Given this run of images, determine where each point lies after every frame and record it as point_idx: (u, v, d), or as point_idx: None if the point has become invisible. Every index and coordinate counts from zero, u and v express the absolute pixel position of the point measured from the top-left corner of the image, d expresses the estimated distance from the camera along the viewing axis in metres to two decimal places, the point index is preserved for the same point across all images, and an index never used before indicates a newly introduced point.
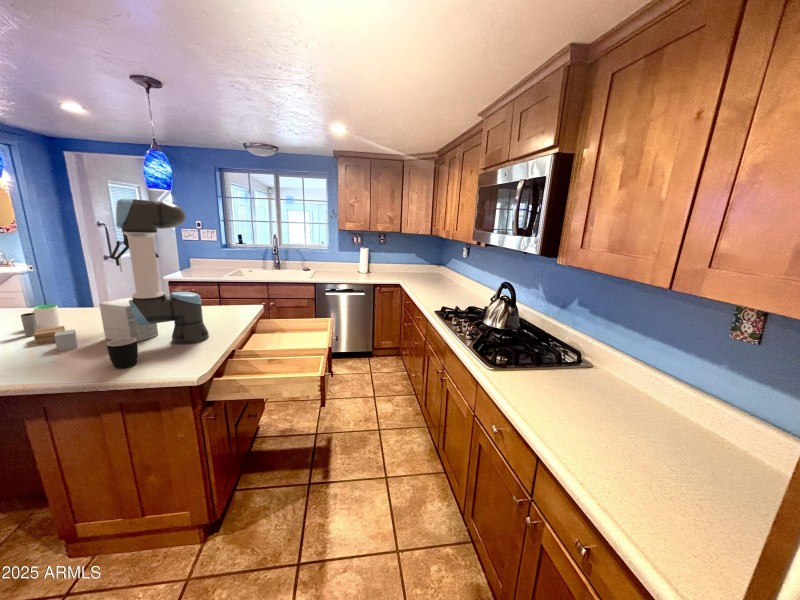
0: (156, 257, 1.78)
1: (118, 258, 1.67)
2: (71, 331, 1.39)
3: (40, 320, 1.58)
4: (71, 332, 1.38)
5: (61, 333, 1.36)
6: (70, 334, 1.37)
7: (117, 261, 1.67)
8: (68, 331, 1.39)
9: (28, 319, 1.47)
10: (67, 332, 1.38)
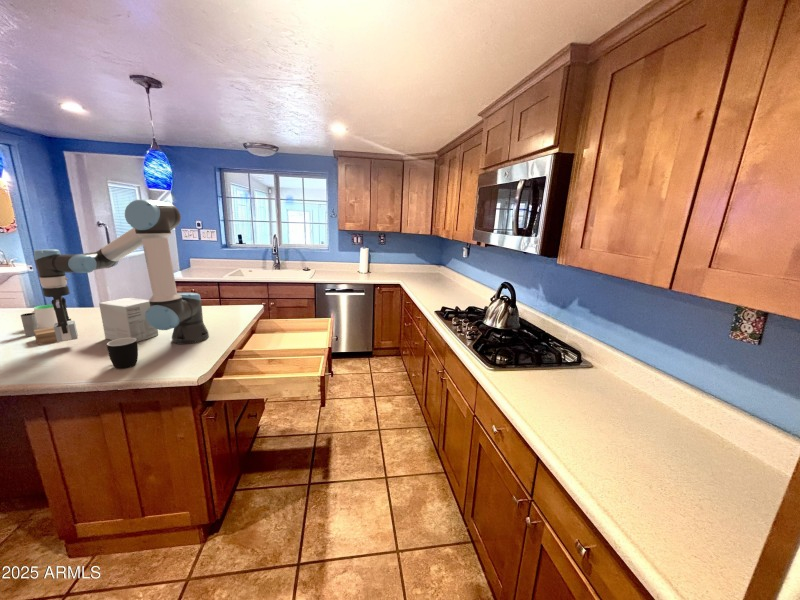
0: (60, 325, 1.32)
1: None
2: (70, 322, 1.38)
3: (40, 320, 1.58)
4: (70, 323, 1.37)
5: None
6: (69, 325, 1.36)
7: None
8: (67, 322, 1.38)
9: (28, 319, 1.47)
10: None
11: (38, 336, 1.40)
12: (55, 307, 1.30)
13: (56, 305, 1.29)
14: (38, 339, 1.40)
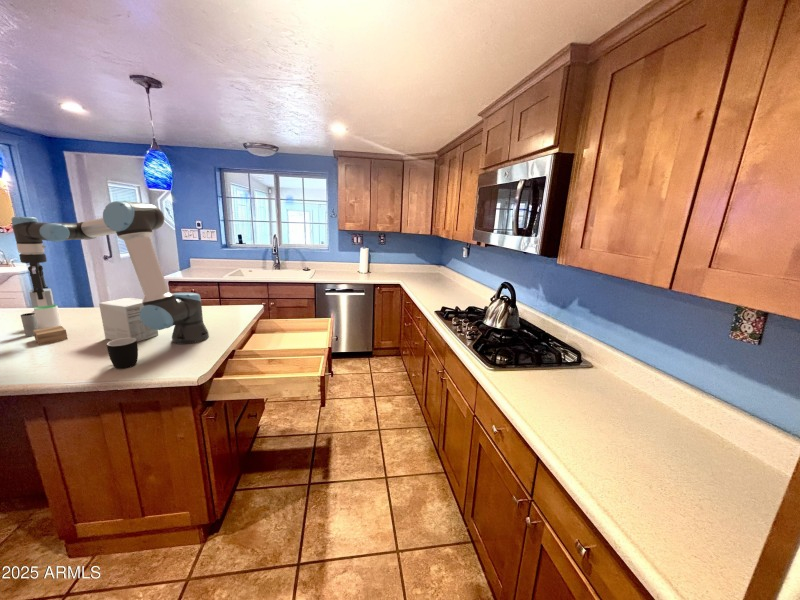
0: (36, 291, 1.36)
1: None
2: (46, 289, 1.42)
3: (40, 320, 1.58)
4: (46, 290, 1.41)
5: None
6: (45, 291, 1.40)
7: None
8: (44, 289, 1.42)
9: (28, 319, 1.47)
10: None
11: (39, 336, 1.40)
12: (31, 273, 1.34)
13: (32, 271, 1.34)
14: (39, 339, 1.40)
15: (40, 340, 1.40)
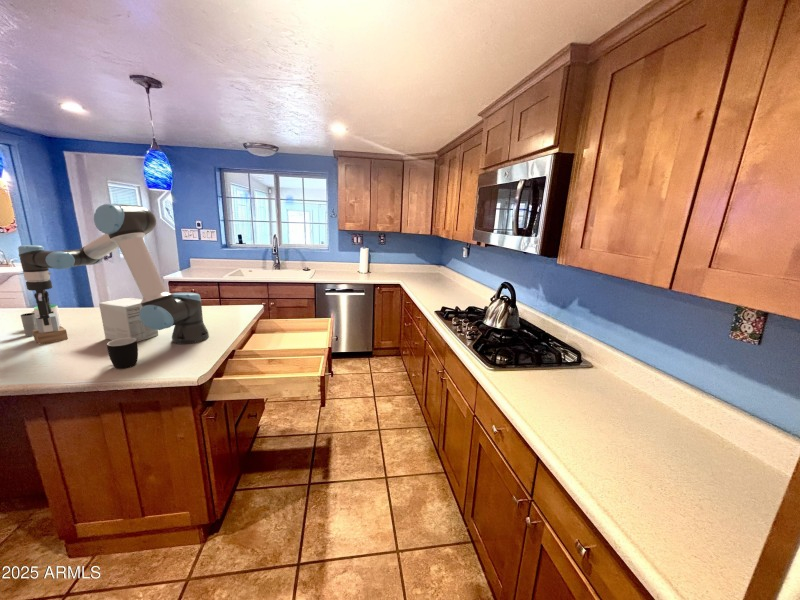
0: (42, 317, 1.39)
1: None
2: (52, 314, 1.45)
3: None
4: (52, 315, 1.44)
5: None
6: (51, 317, 1.43)
7: None
8: (49, 314, 1.45)
9: (28, 319, 1.47)
10: None
11: (39, 336, 1.40)
12: (37, 300, 1.37)
13: (38, 298, 1.37)
14: (39, 339, 1.40)
15: (40, 340, 1.41)
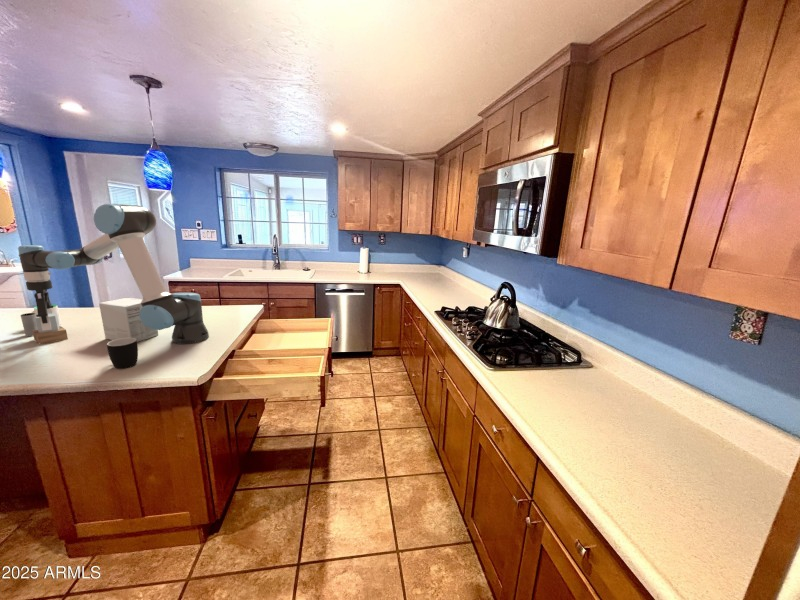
0: (40, 315, 1.36)
1: None
2: (52, 314, 1.45)
3: None
4: (52, 315, 1.44)
5: None
6: (51, 317, 1.43)
7: None
8: (49, 314, 1.45)
9: (28, 319, 1.47)
10: None
11: (39, 336, 1.40)
12: (36, 297, 1.36)
13: (37, 295, 1.36)
14: (39, 339, 1.40)
15: (40, 340, 1.41)
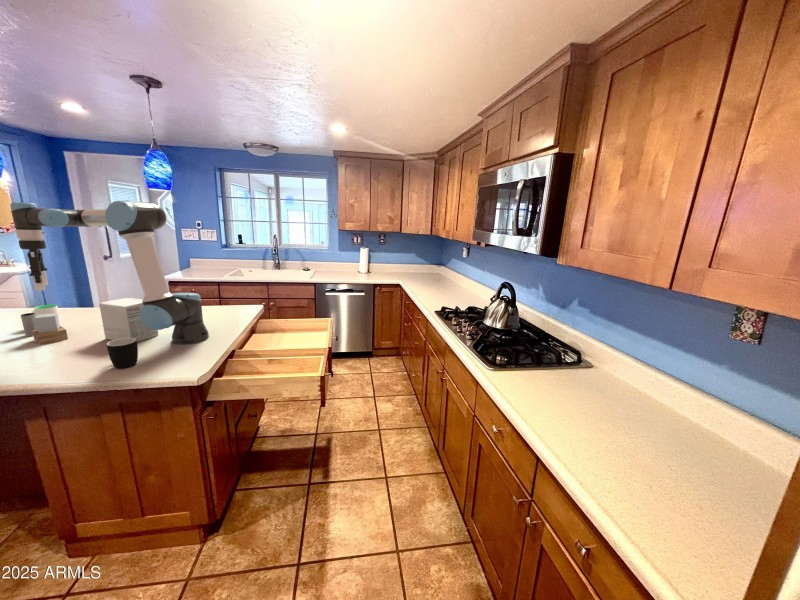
0: (34, 274, 1.33)
1: None
2: (52, 314, 1.45)
3: None
4: (52, 315, 1.44)
5: (42, 316, 1.43)
6: (50, 317, 1.43)
7: None
8: (49, 314, 1.45)
9: (28, 319, 1.47)
10: (48, 315, 1.44)
11: (39, 336, 1.40)
12: (29, 255, 1.32)
13: (31, 253, 1.32)
14: (39, 339, 1.40)
15: (41, 340, 1.41)
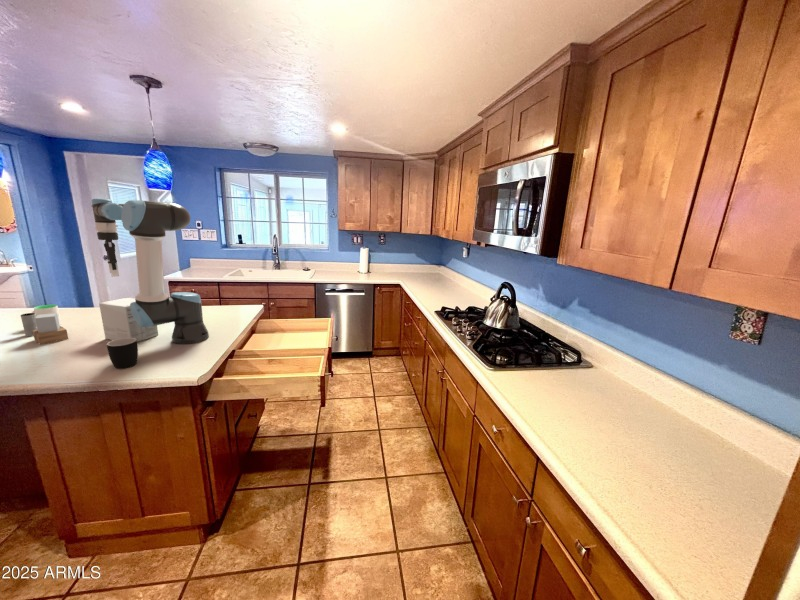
0: (111, 262, 1.51)
1: (108, 258, 1.62)
2: (52, 314, 1.45)
3: None
4: (52, 315, 1.44)
5: (42, 316, 1.43)
6: (50, 317, 1.43)
7: None
8: (49, 314, 1.45)
9: (28, 319, 1.47)
10: (48, 315, 1.44)
11: (40, 336, 1.40)
12: (108, 245, 1.51)
13: (109, 243, 1.51)
14: (40, 339, 1.40)
15: (41, 340, 1.41)
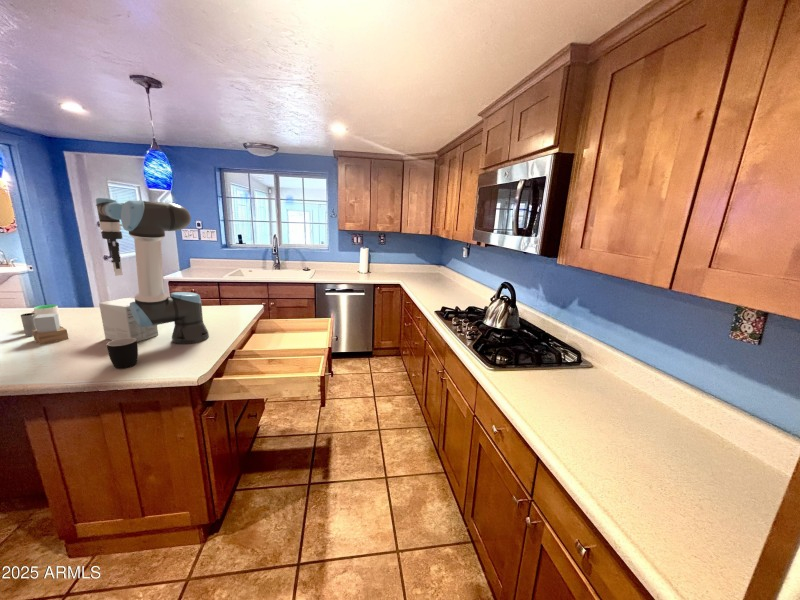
0: (115, 261, 1.52)
1: (112, 257, 1.63)
2: (52, 314, 1.45)
3: None
4: (51, 315, 1.44)
5: (42, 316, 1.42)
6: (49, 317, 1.42)
7: None
8: (49, 314, 1.45)
9: (28, 319, 1.47)
10: (48, 315, 1.44)
11: (40, 336, 1.40)
12: (111, 244, 1.52)
13: (112, 243, 1.52)
14: (40, 339, 1.40)
15: (41, 340, 1.41)
